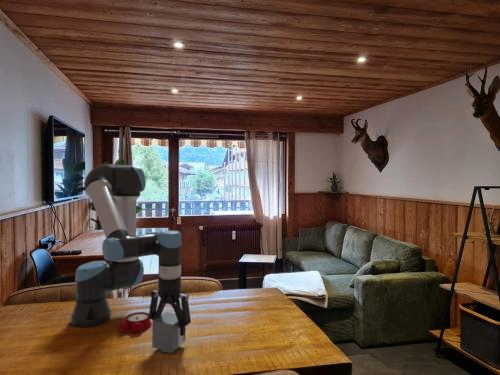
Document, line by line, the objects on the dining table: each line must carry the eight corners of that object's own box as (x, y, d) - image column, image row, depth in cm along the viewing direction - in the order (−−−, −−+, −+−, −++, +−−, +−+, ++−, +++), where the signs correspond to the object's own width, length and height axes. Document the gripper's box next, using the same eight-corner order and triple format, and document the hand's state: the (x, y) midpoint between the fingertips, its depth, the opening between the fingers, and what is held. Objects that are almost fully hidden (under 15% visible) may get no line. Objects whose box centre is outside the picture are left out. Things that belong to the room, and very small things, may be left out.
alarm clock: (157, 312, 139) (139, 318, 125) (155, 328, 138) (137, 336, 124) (133, 310, 141) (114, 316, 127) (132, 326, 140) (111, 334, 125)
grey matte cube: (152, 347, 114) (152, 321, 113) (165, 336, 121) (166, 312, 121) (172, 351, 111) (173, 324, 111) (185, 340, 119) (185, 315, 118)
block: (161, 351, 115) (161, 339, 115) (167, 345, 118) (167, 334, 118) (171, 353, 113) (171, 341, 113) (177, 347, 117) (177, 336, 117)
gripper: (137, 276, 115) (137, 341, 116) (191, 283, 108) (190, 352, 109) (150, 270, 122) (150, 332, 123) (202, 276, 115) (201, 342, 116)
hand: (169, 341), depth 116 cm, fingers closed on grey matte cube, 8 cm apart
